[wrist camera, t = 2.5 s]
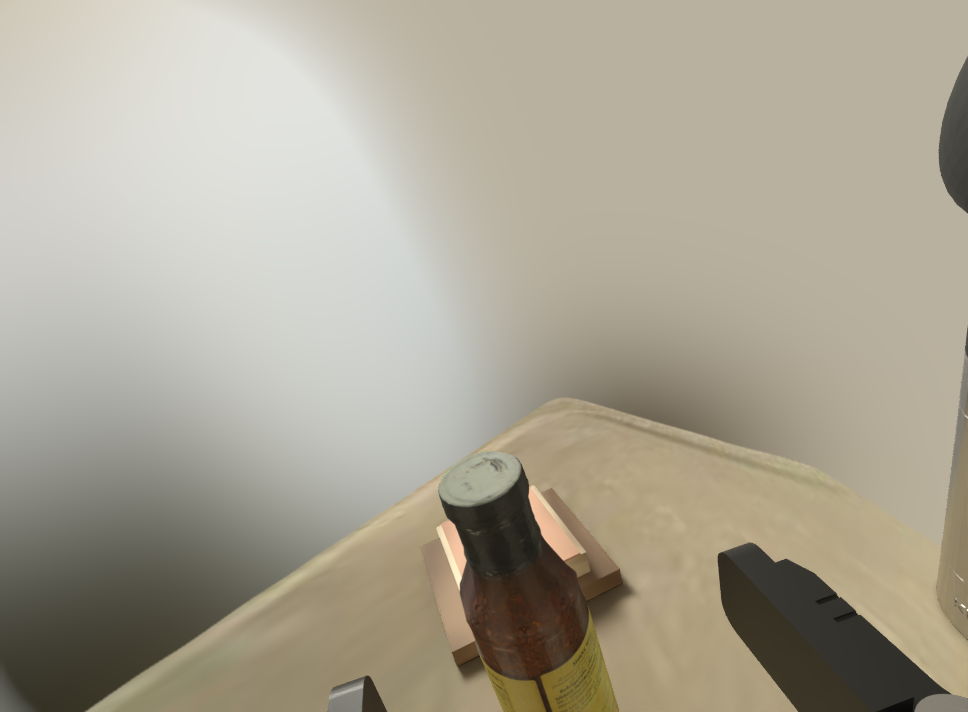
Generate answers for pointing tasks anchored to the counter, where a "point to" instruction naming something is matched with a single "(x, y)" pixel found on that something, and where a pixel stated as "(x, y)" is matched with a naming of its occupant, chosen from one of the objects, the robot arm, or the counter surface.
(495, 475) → the sauce bottle
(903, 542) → the counter surface
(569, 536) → the pedestal
